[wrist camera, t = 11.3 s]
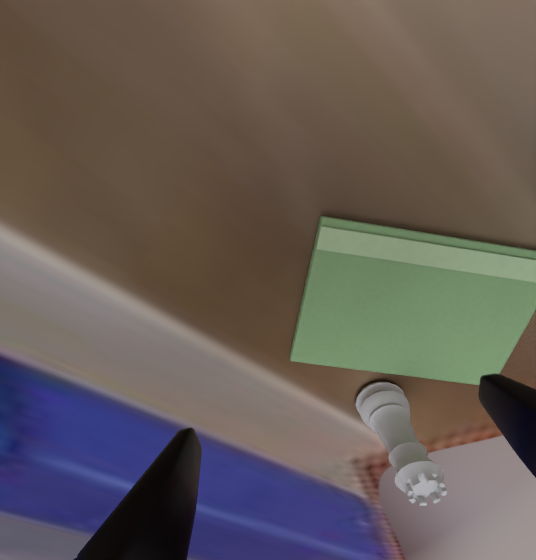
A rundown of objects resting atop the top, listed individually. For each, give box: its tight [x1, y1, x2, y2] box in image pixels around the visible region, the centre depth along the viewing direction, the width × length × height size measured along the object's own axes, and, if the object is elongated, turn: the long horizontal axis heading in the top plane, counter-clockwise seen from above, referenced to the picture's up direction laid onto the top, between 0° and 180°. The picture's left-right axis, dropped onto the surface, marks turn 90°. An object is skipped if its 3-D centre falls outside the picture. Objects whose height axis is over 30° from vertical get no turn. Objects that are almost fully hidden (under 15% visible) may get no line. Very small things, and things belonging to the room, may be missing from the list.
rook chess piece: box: [356, 382, 447, 506], centre depth 21 cm, size 4×4×8 cm
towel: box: [290, 216, 536, 385], centre depth 21 cm, size 18×12×1 cm, turn 81°
